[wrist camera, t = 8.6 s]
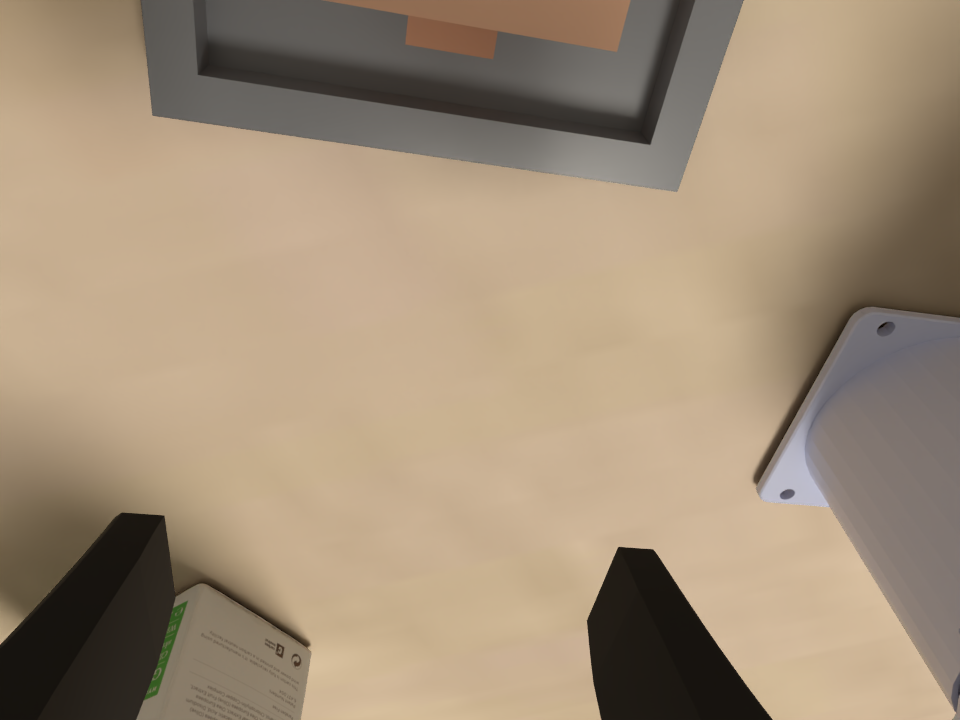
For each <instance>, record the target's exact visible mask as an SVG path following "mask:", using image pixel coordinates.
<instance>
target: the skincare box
mask: <svg viewBox="0 0 960 720" xmlns="http://www.w3.org/2000/svg"><path fill="white" fill-rule="evenodd" d="M310 658H311V651H310V650H309V649H308V648H306V647H305V646H304V645H302V644H301V643H299V642H298V641H296V640H295V639H293V638H292V637H290V636H289V635H287V634H286V633H284V632H283V631H281V630H279V629H278V628H276V627H275V626H273V625H272V624H270V623H269V622H267V621H266V620H264V619H263V618H261V617H259V616H258V615H256V614H255V613H253V612H251V611H250V610H248V609H246V608H245V607H243V606H242V605H240V604H238V603H237V602H235V601H233V600H232V599H230V598H229V597H227V596H226V595H224V594H222V593H221V592H219V591H217V590H215V589H214V588H212V587H210V586H209V585H207V584H204V583H202V584H197V585H195V586H193V587H191V588H189V589H188V590H186V591H184V592H183V593H181V594H179V595H178V596H176V597H175V602H174V606H173V610H172V614H171V618H170V621H169V625H168V629H167V633H166V637H165V640H164V644H163V647H162V651H161V654H160V658H159V661H158V665H157V668H156V670H155V673H154V676H153V678H152V681H151V683H150V686H149V688H148V691H147V694H146V696H145V699H144V701H143V704H142V706H141V709H140V712H139V714H138V717H137V719H136V720H301V714H302V708H303V703H304V697H305V691H306V684H307V678H308V672H309V665H310Z"/></svg>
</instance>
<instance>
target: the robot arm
mask: <svg viewBox="0 0 960 720" xmlns="http://www.w3.org/2000/svg"><path fill="white" fill-rule="evenodd" d="M885 322H887V324H886V325H885V326H884V327H882V328H880V329H878V327H879V326H880V325H881V324H883V323H885ZM786 489H787V490H786ZM756 490H757V493H758V495H759V497H760V499H762V500H763V501H766V502H773V503H786V504H798V505H810V506H822V507H830V508H831V510H832V511H833V513H834V515H835V516H836V518H837V520H838V521H839V523H840V524H841V526H842V528H843V529H844V531H845V533H846V534H847V536H848V537H849V539H850V541H851V542H852V544H853V546H854V547H855V549H856V551H857V552H858V554H859V555H860V557H861V559H862V560H863V562H864V564H865V565H866V567H867V569H868V570H869V572H870V573H871V575H872V577H873V578H874V580H875V582H876V583H877V585H878V587H879V588H880V590H881V591H882V593H883V595H884V596H885V598H886V600H887V601H888V603H889V604H890V606H891V608H892V609H893V611H894V613H895V614H896V616H897V618H898V619H899V621H900V622H901V624H902V626H903V627H904V629H905V631H906V632H907V634H908V636H909V637H910V639H911V640H912V642H913V644H914V645H915V647H916V649H917V650H918V652H919V654H920V655H921V657H922V658H923V660H924V662H925V663H926V665H927V667H928V668H929V670H930V672H931V673H932V675H933V676H934V678H935V680H936V681H937V683H938V685H939V686H940V688H941V689H942V691H943V693H944V694H945V696H946V698H947V699H948V701H949V703H950V704H951V706H952V707H953V709H954V711H955V712H956V714H955V716H954V718H953V719H952V720H960V318H958V317H950V316H942V315H934V314H926V313H918V312H910V311H902V310H894V309H886V308H879V307H865V308H863V309H860V310H858V311H857V312H856V313H854V314H853V315H852V317H851V318H850V319H849V321H848V323H847V324H846V326H845V328H844V330H843V332H842V333H841V335H840V337H839V339H838V341H837V342H836V344H835V346H834V348H833V350H832V351H831V353H830V355H829V357H828V359H827V360H826V362H825V364H824V366H823V368H822V369H821V371H820V373H819V375H818V377H817V378H816V380H815V382H814V384H813V386H812V387H811V389H810V391H809V393H808V395H807V396H806V398H805V400H804V402H803V404H802V405H801V407H800V409H799V411H798V413H797V414H796V416H795V418H794V420H793V422H792V423H791V425H790V427H789V429H788V431H787V432H786V434H785V436H784V438H783V439H782V441H781V443H780V445H779V447H778V448H777V450H776V452H775V454H774V456H773V457H772V459H771V461H770V463H769V465H768V466H767V468H766V470H765V472H764V474H763V475H762V477H761V479H760V481H759V483H758V484H757V487H756ZM784 490H785V491H784ZM174 602H175V591H174V584H173V576H172V569H171V562H170V554H169V547H168V539H167V532H166V524H165V517H164V516H162V515H148V514H133V513H121V514H119V515H118V516H116V517H115V518H114V519H113V521H112V522H111V523H110V524H109V525H108V527H107V528H106V529H105V530H104V531H103V533H102V534H101V535H100V536H99V537H98V538H97V540H96V541H95V542H94V543H93V544H92V545H91V547H90V548H89V549H88V550H87V551H86V552H85V554H84V555H83V556H82V557H81V558H80V559H79V560H78V562H77V563H76V564H75V565H74V566H73V567H72V568H71V570H70V571H69V572H68V573H67V574H66V575H65V576H64V577H63V578H62V580H61V581H60V582H59V583H58V584H57V585H56V586H55V587H54V588H53V590H52V591H51V592H50V593H49V594H48V595H47V596H46V597H45V598H44V599H43V600H42V601H41V603H40V604H39V605H38V606H37V607H36V608H35V609H34V610H33V611H32V612H31V613H30V614H29V615H28V616H27V617H26V618H25V619H24V620H23V622H22V623H21V624H20V625H19V626H18V627H17V628H16V629H15V630H14V631H13V632H12V633H11V634H10V635H9V636H8V637H7V638H6V639H5V640H4V641H3V643H2V644H1V645H0V720H136V719H137V717H138V714H139V712H140V709H141V706H142V704H143V701H144V699H145V696H146V694H147V691H148V688H149V686H150V683H151V681H152V678H153V676H154V673H155V670H156V668H157V665H158V661H159V658H160V654H161V651H162V647H163V644H164V640H165V637H166V633H167V629H168V625H169V621H170V618H171V614H172V610H173V606H174ZM587 625H588V636H589V646H590V656H591V665H592V673H593V682H594V687H595V692H596V697H597V701H598V706H599V710H600V715H601V720H772V718H771V717H770V716H769V715H768V713H767V712H766V711H765V709H764V708H763V707H762V706H761V704H760V703H759V702H758V700H757V699H756V698H755V696H754V695H753V693H752V692H751V691H750V689H749V688H748V687H747V685H746V684H745V683H744V681H743V680H742V679H741V677H740V676H739V674H738V673H737V672H736V670H735V669H734V667H733V666H732V665H731V663H730V662H729V660H728V659H727V658H726V656H725V655H724V653H723V652H722V651H721V649H720V648H719V646H718V645H717V644H716V642H715V641H714V639H713V638H712V636H711V635H710V633H709V632H708V630H707V629H706V628H705V626H704V625H703V623H702V622H701V620H700V619H699V617H698V616H697V614H696V613H695V611H694V610H693V608H692V607H691V605H690V604H689V602H688V601H687V599H686V598H685V596H684V595H683V593H682V592H681V590H680V589H679V587H678V585H677V584H676V582H675V581H674V579H673V578H672V576H671V575H670V573H669V572H668V570H667V569H666V567H665V566H664V564H663V563H662V561H661V560H660V558H659V557H658V555H657V554H656V552H655V551H654V550H653V549H639V548H625V547H618V549H617V551H616V554H615V556H614V558H613V561H612V563H611V566H610V568H609V570H608V573H607V575H606V577H605V580H604V582H603V584H602V587H601V589H600V591H599V594H598V596H597V598H596V601H595V603H594V605H593V608H592V610H591V612H590V615H589V617H588V620H587Z"/></svg>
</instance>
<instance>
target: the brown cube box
mask: <svg viewBox="0 0 960 720" xmlns="http://www.w3.org/2000/svg"><path fill="white" fill-rule="evenodd" d="M324 1H330V2H336V3H341V4H347V5H353V6H358V7H364V8H370V9H375V10H381V11H387V12H392V13H398V14H404V15H408V23H407V32H406V42H405V44H406V45H412V46H417V47H423V48H429V49H435V50H441V51H447V52H453V53H459V54H464V55H470V56H476V57H482V58H488V59H493V57H494V51H495V45H496V39H497V33H498V31H500V32H506V33H512V34H517V35H523V36H529V37H534V38H540V39H546V40H551V41H557V42H563V43H568V44H574V45H580V46H585V47H591V48H597V49H602V50H608V51H614V52H617V50H618V46H619V42H620V38H621V35H622V31H623V27H624V23H625V19H626V16H627V12H628V8H629V4H630V1H631V0H324Z"/></svg>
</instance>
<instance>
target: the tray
mask: <svg viewBox="0 0 960 720" xmlns="http://www.w3.org/2000/svg"><path fill="white" fill-rule="evenodd" d="M743 1H744V0H631V1H630V4H629V8H628V12H627V16H626V19H625V23H624V27H623V31H622V35H621V38H620V42H619V46H618V50H617V52H614V51H608V50H602V49H597V48H591V47H585V46H580V45H574V44H568V43H563V42H557V41H551V40H546V39H540V38H534V37H529V36H523V35H517V34H512V33H506V32H500V31H498V33H497V39H496V45H495V51H494V57H493V59H488V58H482V57H476V56H470V55H464V54H459V53H453V52H447V51H441V50H435V49H429V48H423V47H417V46H412V45H406V44H405V42H406V32H407V23H408V15H404V14H398V13H392V12H387V11H381V10H375V9H370V8H364V7H358V6H353V5H347V4H341V3H336V2H330V1H324V0H141V6H142V16H143V26H144V36H145V46H146V56H147V66H148V76H149V85H150V95H151V105H152V115H153V116H158V117H165V118H172V119H179V120H186V121H193V122H200V123H206V124H213V125H220V126H227V127H234V128H241V129H248V130H255V131H261V132H268V133H275V134H282V135H289V136H296V137H303V138H310V139H316V140H323V141H330V142H337V143H344V144H351V145H358V146H365V147H371V148H378V149H385V150H392V151H399V152H406V153H413V154H420V155H426V156H433V157H440V158H447V159H454V160H461V161H468V162H474V163H481V164H488V165H495V166H502V167H509V168H516V169H523V170H529V171H536V172H543V173H550V174H557V175H564V176H571V177H578V178H584V179H591V180H598V181H605V182H612V183H619V184H626V185H633V186H639V187H646V188H653V189H660V190H667V191H674V192H677V191H678V189H679V186H680V183H681V180H682V177H683V174H684V171H685V168H686V165H687V163H688V160H689V157H690V154H691V151H692V148H693V145H694V142H695V139H696V137H697V134H698V131H699V128H700V125H701V122H702V119H703V116H704V113H705V111H706V108H707V105H708V102H709V99H710V96H711V93H712V90H713V87H714V85H715V82H716V79H717V76H718V73H719V70H720V67H721V64H722V61H723V59H724V56H725V53H726V50H727V47H728V44H729V41H730V38H731V35H732V33H733V30H734V27H735V24H736V21H737V18H738V15H739V12H740V9H741V7H742V4H743Z"/></svg>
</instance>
